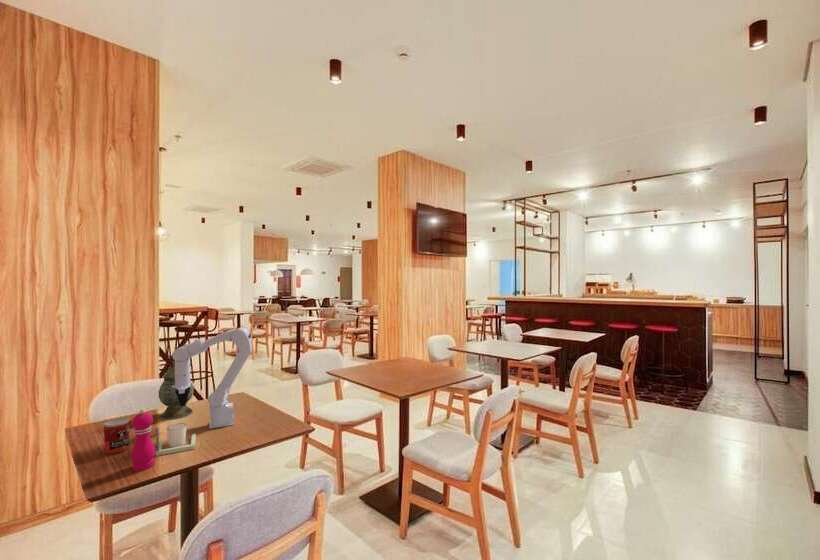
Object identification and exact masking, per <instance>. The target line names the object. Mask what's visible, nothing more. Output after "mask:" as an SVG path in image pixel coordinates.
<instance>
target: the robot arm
mask: <svg viewBox="0 0 820 560" xmlns="http://www.w3.org/2000/svg"><path fill="white" fill-rule="evenodd" d="M252 340H253V335H252V332H251V330H250V329H249V327H246V326H241V327H238V328H237V327H236V328H233V329H229V330H226V331H224V332H222V333H220V334H217V335H215V336H212V337H211V338H207V339H206V340H205V339H204V338H200V339H199V338H197V339H194V341H193V342H191V343H184V344H183V346H181V347H177V348H176V349H174V350H173V352H172V356H171V357H172V359H173V360H174V363H175V385H172V388H176V390H175V393H176V395H177V397H178V399H179V404H180V406H187V404H188V402H187V397H188V394H189V392H190V386H191V383H192V382H191V383H190V381H191V361H190V360H191V359H190V358H192V357H194V356H197V355H200V354H203V353H204V352H207V350H208V349H209V347H211V346H214V345H216V344H218V343H219V344H220V343H222V342H224V341H225V342H230V343H231V342H232V343H234V345H235V346H236V347H237V350H238V351H237V354H236V356H235V357H234V359H233V361H232V362H231V364H230V366H229V367H228V369H227V371H226V373H225V374H224V376H223V378H222V380H221V381H220V383H219V384H218V385H217V387H215V390H214V391H213V392H212V393H210V394H209V396H208V398H207V402H208V404H209V419H210V420H209V422H208V423H209V424H208V429H215V428H222V427H228V426H233V425H234V419H235V415H234V403H233V402H229V401H228V399H227V398H228V397H229V395H230V391H231V388H232V385H233V383H234V382H235V380H236V379H237V377H238V375H239V374H240V373H241V370H242V369H243V367H244V365H245V363H246V362H247V360H248V359H249V356H250V355H251V354H252V351H253V341H252Z"/></svg>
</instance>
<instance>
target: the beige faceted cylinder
mask: <svg viewBox="0 0 820 560" xmlns="http://www.w3.org/2000/svg"><path fill="white" fill-rule="evenodd" d="M187 428H188V427H187V423H185V422H182V423H181V422H180V423H179V422H178V423H174V424H171V425H168V426H167V427H166V434H167V442H168V443H167V444H168V446H169V448H174V447H179V446H184V445H185V444H186V439H187Z"/></svg>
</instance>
